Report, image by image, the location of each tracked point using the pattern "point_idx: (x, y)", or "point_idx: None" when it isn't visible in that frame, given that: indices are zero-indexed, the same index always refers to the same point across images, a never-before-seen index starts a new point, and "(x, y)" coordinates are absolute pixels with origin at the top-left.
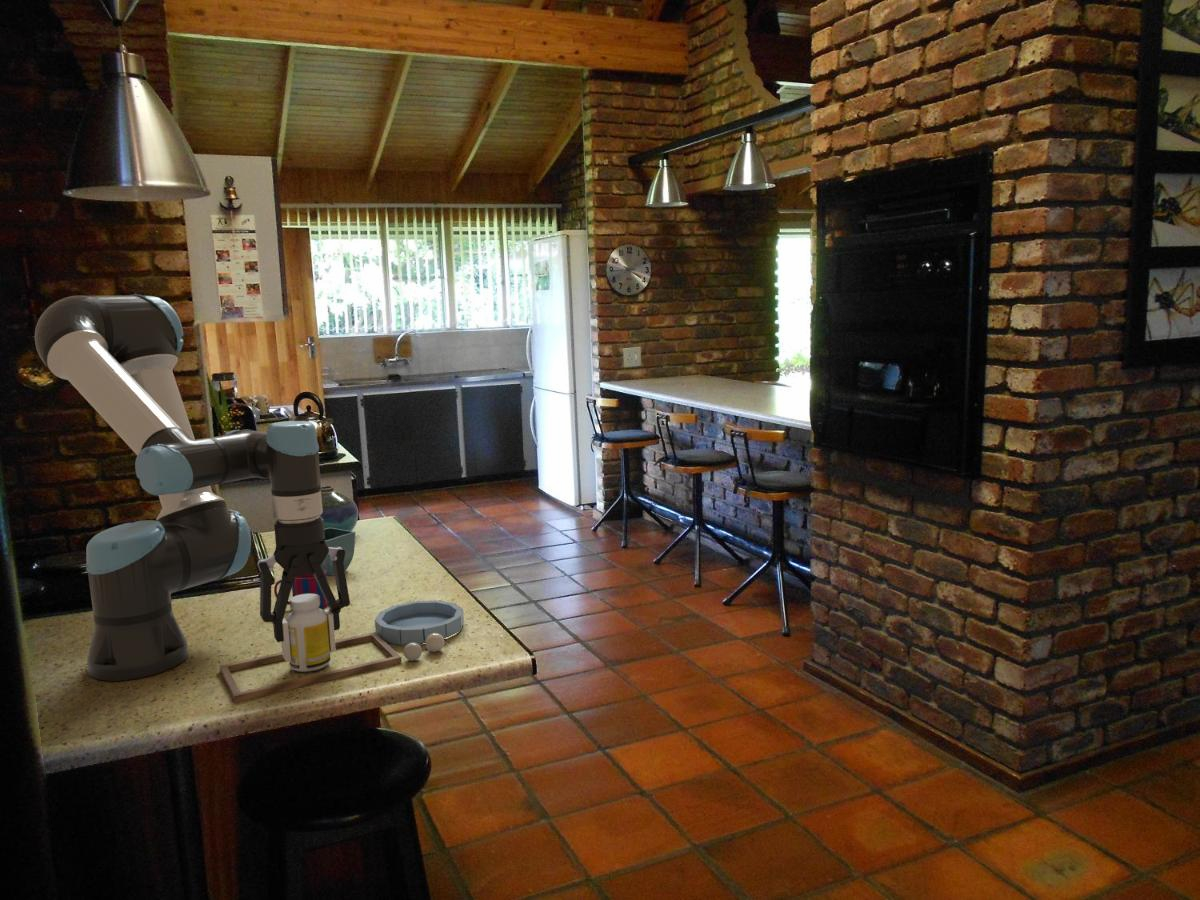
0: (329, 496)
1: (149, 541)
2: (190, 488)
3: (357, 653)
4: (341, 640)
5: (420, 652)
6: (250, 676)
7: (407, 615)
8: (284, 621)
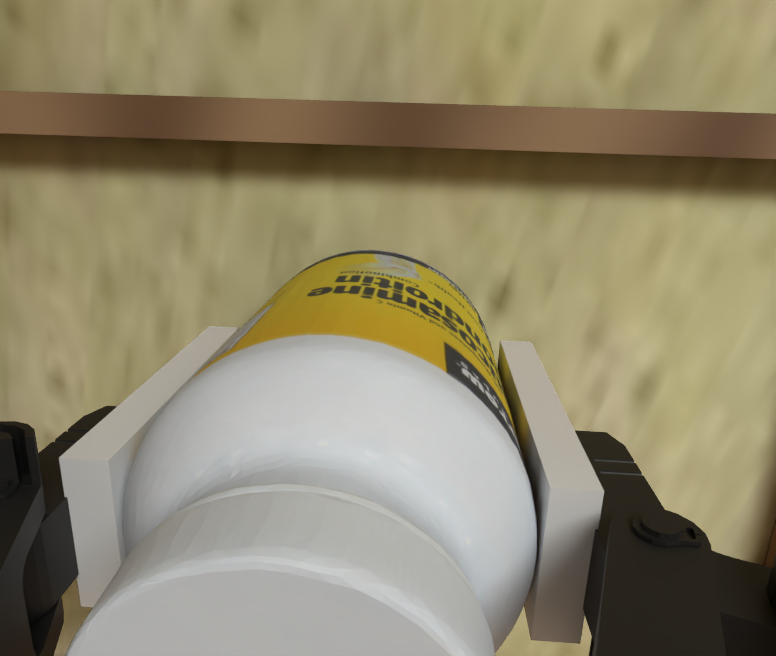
0: None
1: None
2: None
3: (674, 325)
4: (669, 135)
5: None
6: (61, 278)
7: None
8: (99, 559)
